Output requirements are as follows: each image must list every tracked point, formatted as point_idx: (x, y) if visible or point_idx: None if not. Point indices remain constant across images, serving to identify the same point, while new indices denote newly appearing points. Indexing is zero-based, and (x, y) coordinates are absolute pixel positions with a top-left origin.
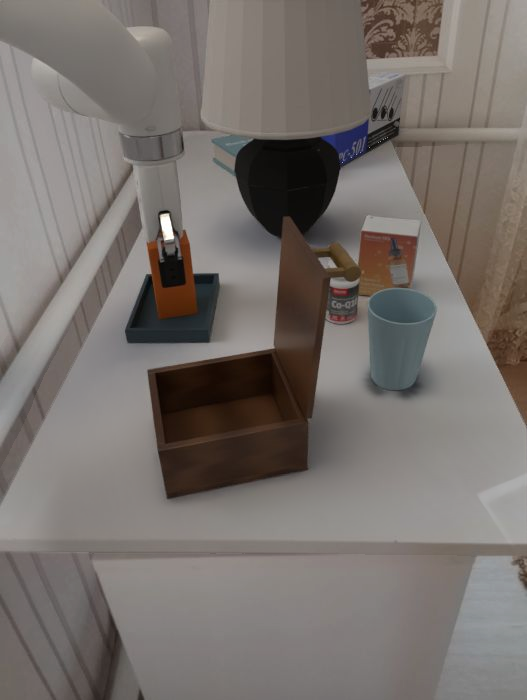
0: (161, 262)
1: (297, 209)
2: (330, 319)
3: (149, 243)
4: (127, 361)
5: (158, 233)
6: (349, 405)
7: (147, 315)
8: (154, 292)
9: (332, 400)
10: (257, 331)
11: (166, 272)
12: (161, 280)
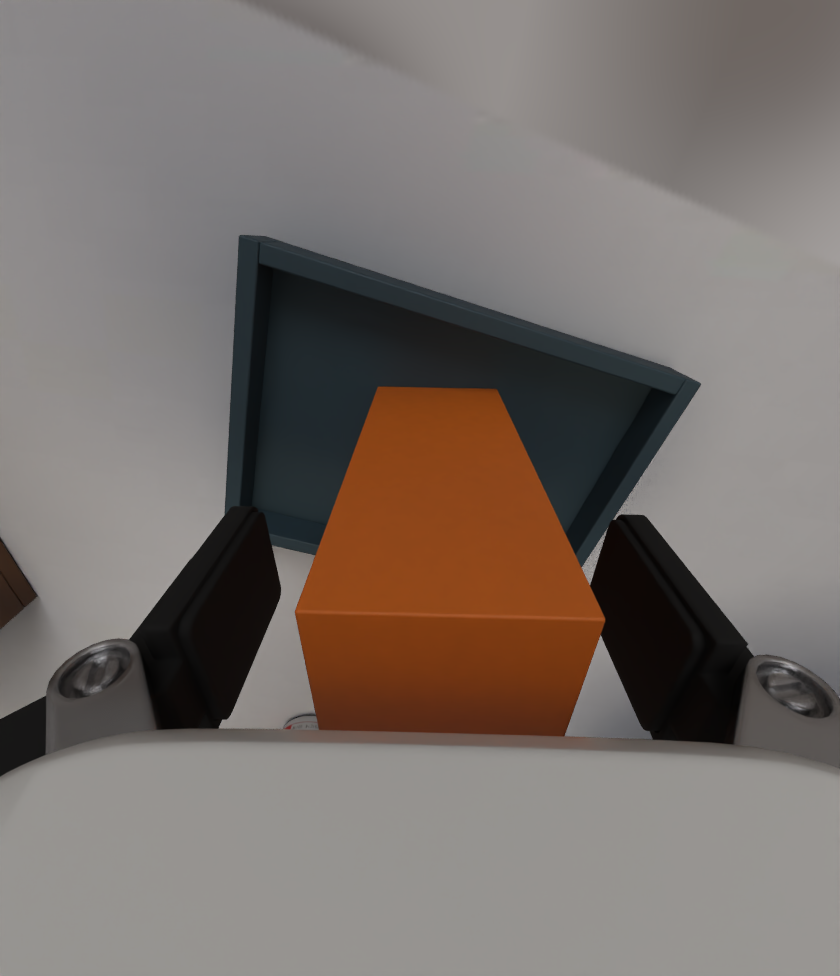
0: (89, 652)
1: None
2: (290, 725)
3: (402, 632)
4: (138, 226)
5: (568, 694)
6: (26, 679)
7: (417, 344)
8: (581, 390)
9: (35, 663)
10: (282, 610)
11: (158, 601)
12: (215, 530)
